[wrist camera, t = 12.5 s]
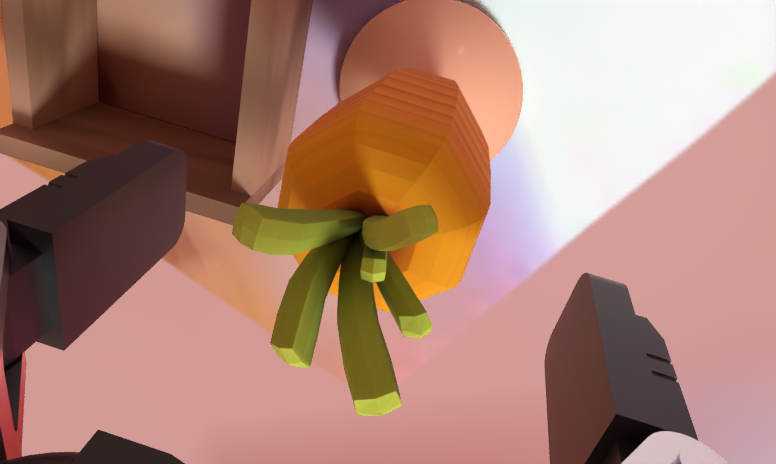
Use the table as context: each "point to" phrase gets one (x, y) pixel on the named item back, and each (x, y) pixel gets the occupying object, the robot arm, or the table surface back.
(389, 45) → the peach dome
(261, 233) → the carrot
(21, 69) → the brown open box
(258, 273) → the table surface
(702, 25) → the table surface
